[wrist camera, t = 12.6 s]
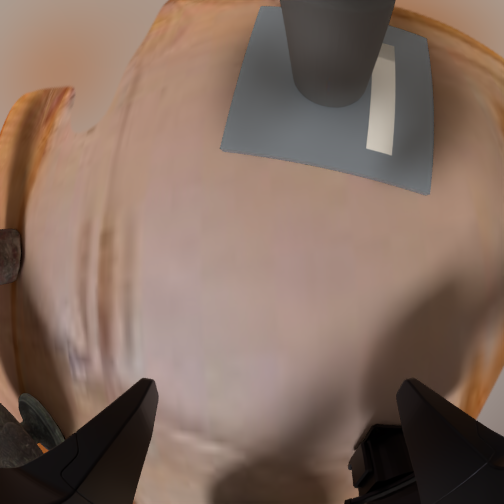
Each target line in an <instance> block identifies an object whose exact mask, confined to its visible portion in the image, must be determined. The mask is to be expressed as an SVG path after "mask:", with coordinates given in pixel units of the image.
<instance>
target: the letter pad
mask: <svg viewBox="0 0 504 504" xmlns="http://www.w3.org/2000/svg"><path fill="white" fill-rule="evenodd" d="M433 148H434V105H433V87H432V75H431V65H430V57H429V50H428V44H427V38H424V37H422V36H419V35H416V34H414V33H411V32H408V31H405V30H402V29H399V28H396V27H393V26H389V25H388V28H387V31H386V34H385V37H384V40H383V43H382V46H381V49H380V52H379V55H378V58H377V61H376V64H375V66H374V69H373V72H372V75H371V77H370V80H369V82H368V85H367V88H366V90H365V92H364V94H363V95H362V96H361V98H360V99H359V100H358V101H356V102H355V103H353V104H351V105H348V106H345V107H338V108H337V107H326V106H321V105H319V104H316V103H314V102H312V101H310V100H308V99H307V98H306V97H304V96H303V95H302V94H301V93H300V91H299V90H298V89H297V87H296V85H295V83H294V79H293V74H292V68H291V62H290V55H289V49H288V43H287V37H286V31H285V25H284V19H283V14H282V9H281V7H270V6H261V7H260V10H259V13H258V16H257V19H256V22H255V25H254V28H253V31H252V34H251V37H250V41H249V44H248V47H247V50H246V54H245V57H244V60H243V64H242V67H241V71H240V74H239V77H238V81H237V85H236V88H235V92H234V95H233V99H232V103H231V107H230V111H229V114H228V118H227V122H226V126H225V130H224V134H223V138H222V142H221V147H220V149H221V150H222V151H223V152H232V153H239V154H247V155H254V156H261V157H267V158H273V159H279V160H285V161H291V162H296V163H301V164H306V165H311V166H316V167H321V168H326V169H330V170H335V171H339V172H344V173H348V174H352V175H356V176H360V177H364V178H368V179H372V180H375V181H379V182H383V183H386V184H390V185H393V186H397V187H400V188H404V189H407V190H410V191H413V192H416V193H420V194H423V195H429V194H430V189H431V179H432V166H433Z"/></svg>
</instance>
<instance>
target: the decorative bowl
mask: <svg viewBox="0 0 504 504" xmlns="http://www.w3.org/2000/svg"><path fill="white" fill-rule="evenodd" d="M19 411H20V414H21V416H22V419H23V422H21V423H19V422H18V421H17V420H16V418H15V417H14V416H13V415H12V414H11V413H10V412H9V411H8V410H7V409H6V408H5V407H4V406H3V405H2V404H1V403H0V468H14V467H19V466H22V465H24V464H26V463H28V462H30V461H32V460H34V459H35V458H37V457H39V456H41V455H43V452H42V450H41V449H40V448H39V446H38V445H37V444H38V443H41V444H42V445H43V446H44V447H45V448H46V449H48V450H51V449H53V448H54V447H56V446H57V445H59V444H60V443H62V442H63V441H64V438H63V435H62V433H61V431H60V430H59V428H58V426H57V425H56V423H55V422H54V420H53V419H52V417H51V416H50V414H49V413H48V412H47V411H46V409H45V408H44V407H43V406H42V405H41V404H40V402H39V401H38V400H36V399H35V398H34V397H33V396H31V395H30V394H28V393H23V394H22V395H20V397H19Z"/></svg>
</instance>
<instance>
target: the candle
mask: <svg viewBox="0 0 504 504" xmlns="http://www.w3.org/2000/svg"><path fill="white" fill-rule="evenodd" d="M20 256H21V249H20V234H19V233H18V231H17V230H15V229H0V285H2V284H6V283H11V282H14V281H15V280H16V278H17V275H18V270H19V267H20Z"/></svg>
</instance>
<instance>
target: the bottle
mask: <svg viewBox="0 0 504 504" xmlns="http://www.w3.org/2000/svg"><path fill="white" fill-rule="evenodd" d="M280 3H281V9H282V14H283V19H284V25H285V31H286V37H287V43H288V49H289V55H290V62H291V68H292V74H293V79H294V83H295V85H296V87H297V89H298V90H299V91H300V93H301V94H302V95H303V96H304V97H306V98H307V99H308V100H310V101H312V102H314V103H316V104H319V105H321V106H326V107H337V108H338V107H345V106H348V105H351V104H353V103H355V102H356V101H358V100H359V99H360V98H361V96H362V95H363V94H364V92H365V90H366V88H367V85H368V82H369V80H370V77H371V75H372V72H373V69H374V66H375V64H376V61H377V58H378V55H379V52H380V49H381V46H382V43H383V40H384V37H385V34H386V31H387V28H388V25H389V21H390V18H391V15H392V11H393V8H394V4H395V0H280Z"/></svg>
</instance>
